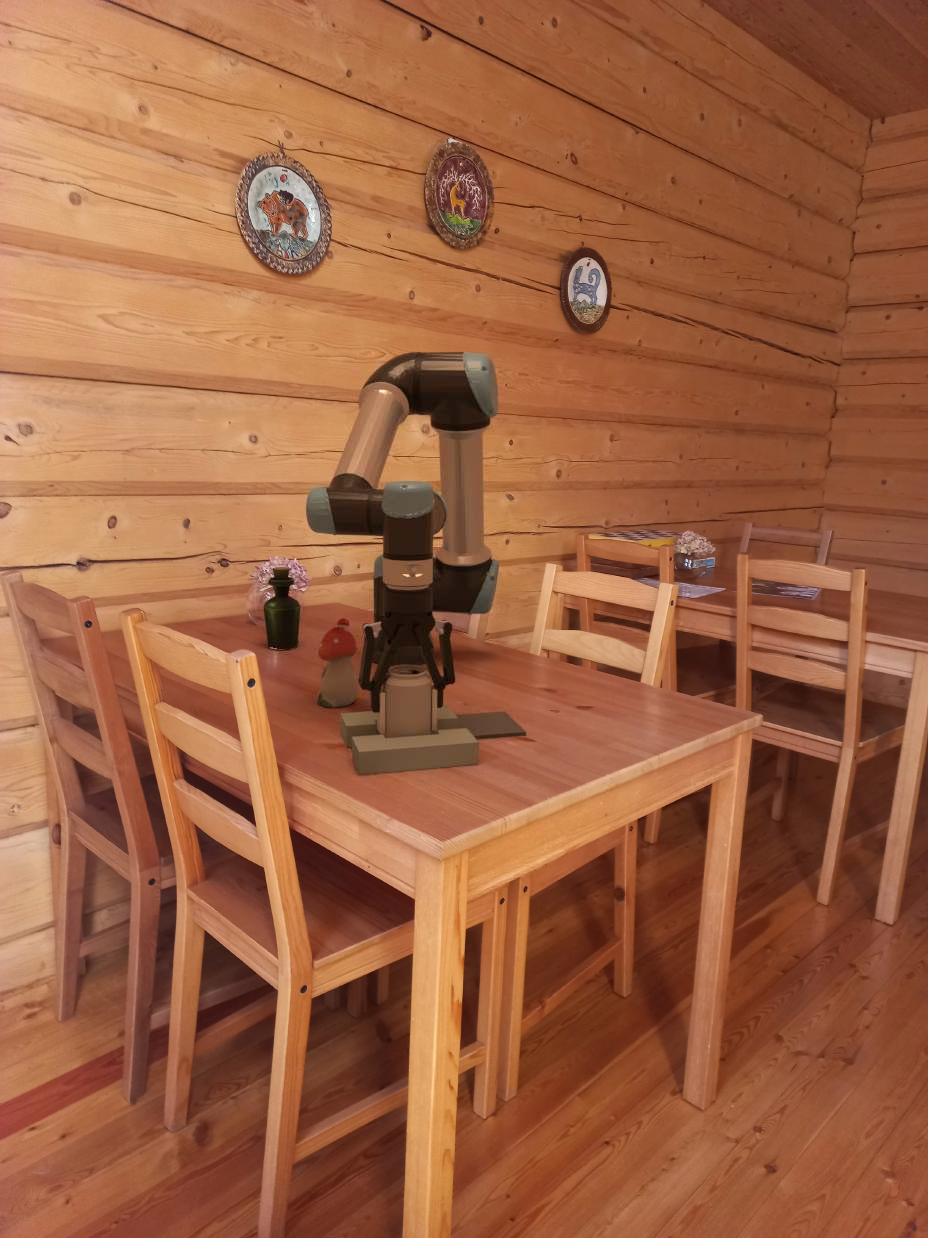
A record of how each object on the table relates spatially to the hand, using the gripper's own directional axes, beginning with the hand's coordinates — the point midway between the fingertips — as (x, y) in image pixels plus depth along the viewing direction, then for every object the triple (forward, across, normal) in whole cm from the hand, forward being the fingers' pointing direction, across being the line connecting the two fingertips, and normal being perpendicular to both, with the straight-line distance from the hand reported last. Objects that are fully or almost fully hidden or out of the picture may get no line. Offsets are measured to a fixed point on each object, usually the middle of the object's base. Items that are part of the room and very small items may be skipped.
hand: (406, 729), depth 138 cm
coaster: (+3, +15, +7) cm, 17 cm away
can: (+2, 0, 0) cm, 2 cm away
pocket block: (+3, 0, 0) cm, 3 cm away
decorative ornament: (+3, -7, +26) cm, 27 cm away
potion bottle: (+4, -13, +69) cm, 70 cm away
